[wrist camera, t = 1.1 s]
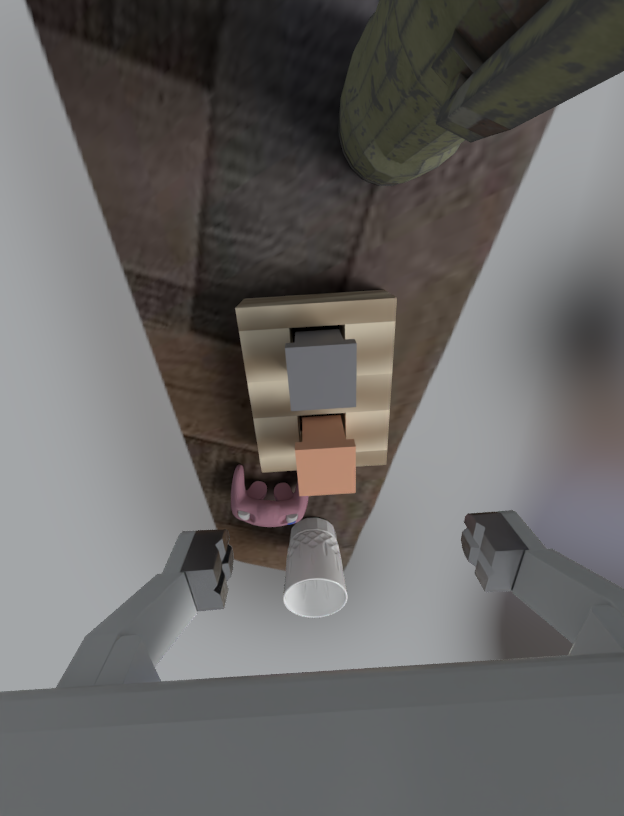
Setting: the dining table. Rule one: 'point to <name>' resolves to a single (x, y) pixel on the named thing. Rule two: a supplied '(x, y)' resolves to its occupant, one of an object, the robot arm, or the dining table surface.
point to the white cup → (314, 570)
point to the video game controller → (265, 503)
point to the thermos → (466, 75)
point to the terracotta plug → (325, 457)
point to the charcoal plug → (321, 370)
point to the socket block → (268, 381)
